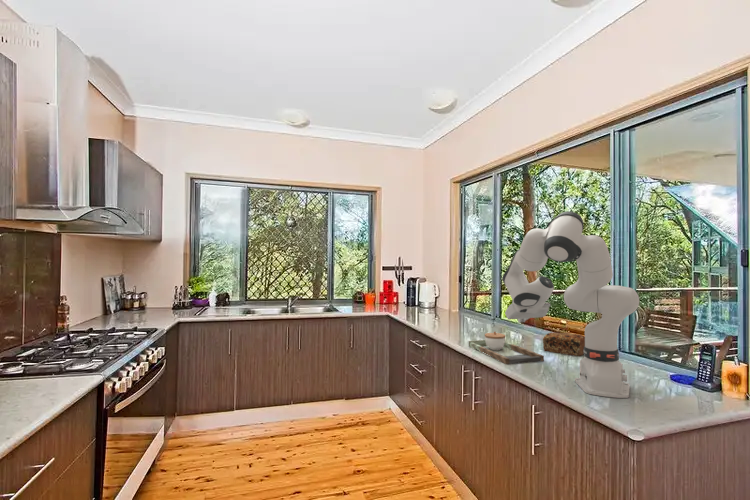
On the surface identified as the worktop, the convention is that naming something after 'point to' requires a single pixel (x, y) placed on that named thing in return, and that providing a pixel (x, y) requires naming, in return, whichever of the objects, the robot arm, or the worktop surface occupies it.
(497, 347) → the lidded jar
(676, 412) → the worktop surface
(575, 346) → the bread
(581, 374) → the robot arm
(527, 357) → the wooden serving tray
